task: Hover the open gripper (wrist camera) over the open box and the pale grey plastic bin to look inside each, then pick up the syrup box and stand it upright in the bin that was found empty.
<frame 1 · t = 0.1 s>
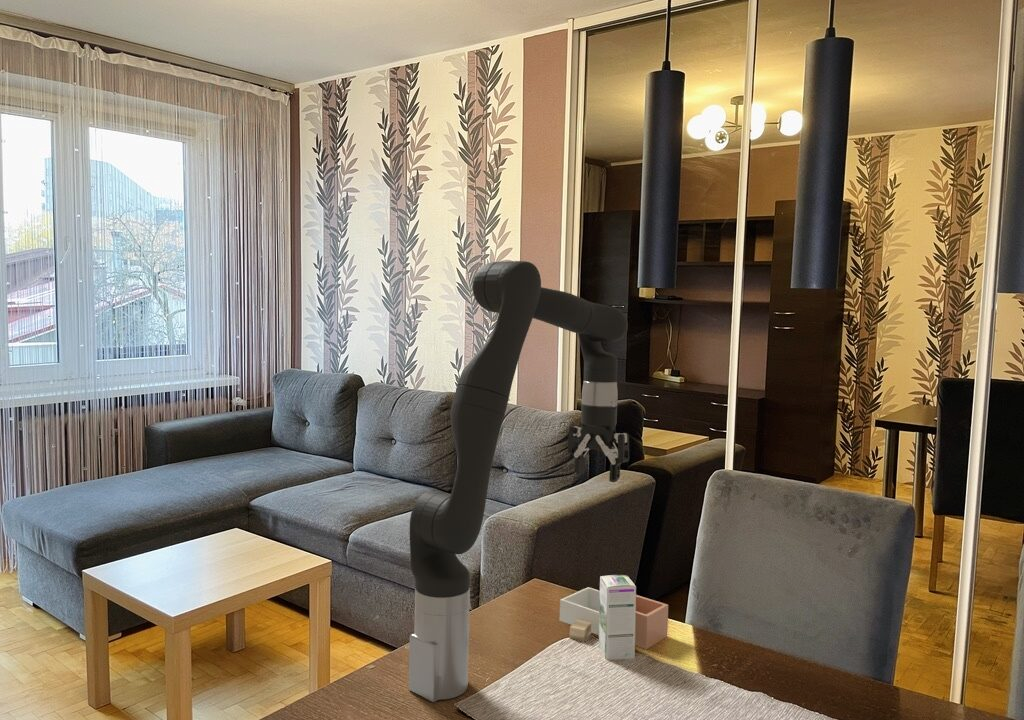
hand: (596, 478, 158), 29 cm above the table, fingers open, 8 cm apart
syrup box: (615, 656, 140), on the table
bin: (593, 623, 154), on the table
beech block: (580, 639, 146), on the table
open box: (638, 639, 147), on the table
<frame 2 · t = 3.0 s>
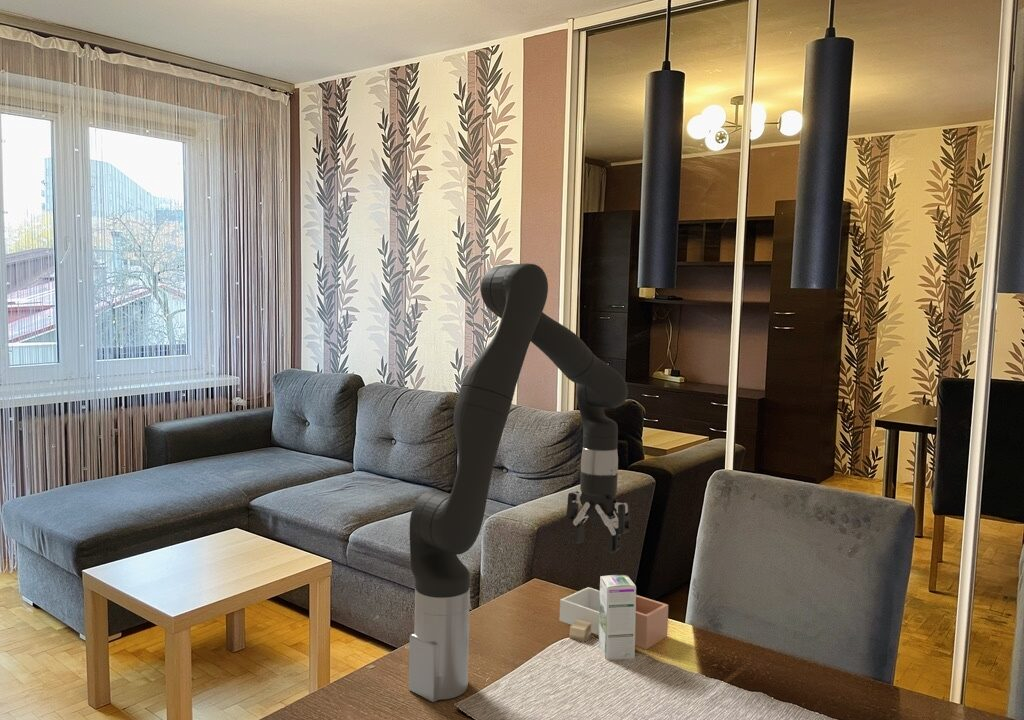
hand: (596, 547, 153), 16 cm above the table, fingers open, 8 cm apart
nothing on the table moved.
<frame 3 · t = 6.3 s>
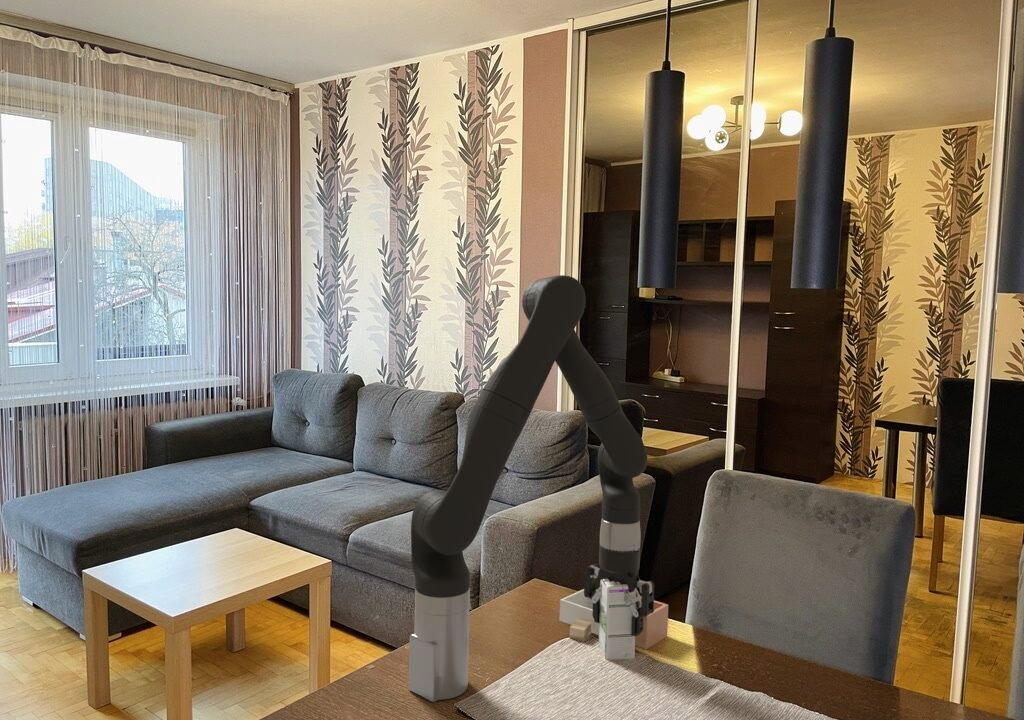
hand: (617, 628, 139), 5 cm above the table, fingers closed on syrup box, 8 cm apart
syrup box: (615, 656, 140), on the table, touching gripper
everything else where it was.
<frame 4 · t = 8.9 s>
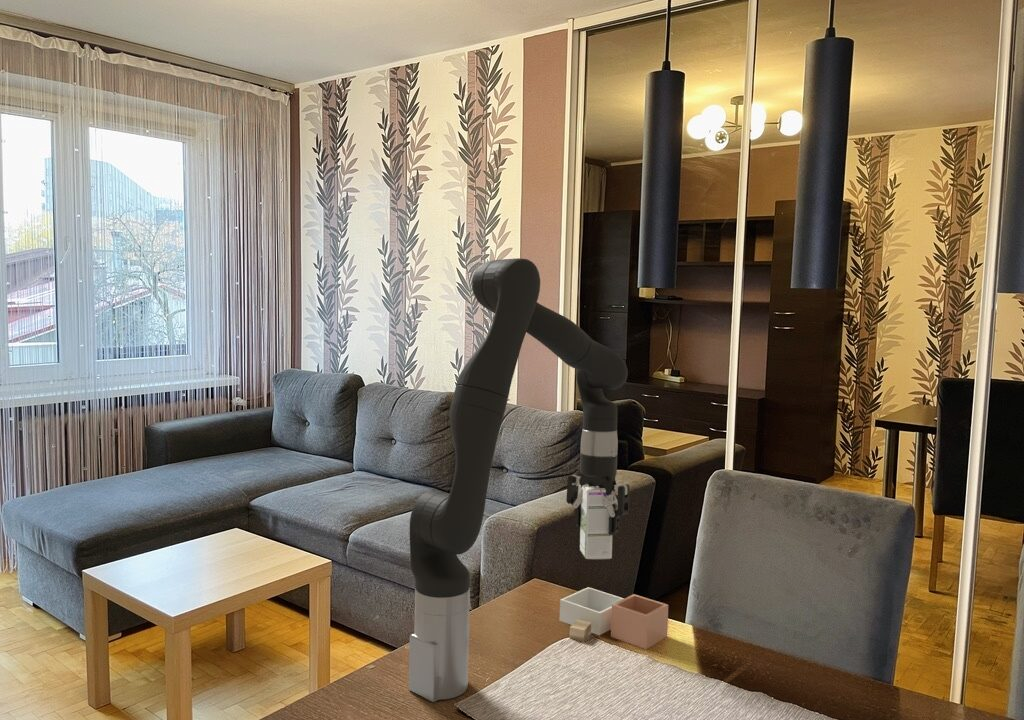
hand: (596, 529, 153), 20 cm above the table, fingers closed on syrup box, 8 cm apart
syrup box: (595, 555, 153), point 14 cm above the table, touching gripper
everything else where it was.
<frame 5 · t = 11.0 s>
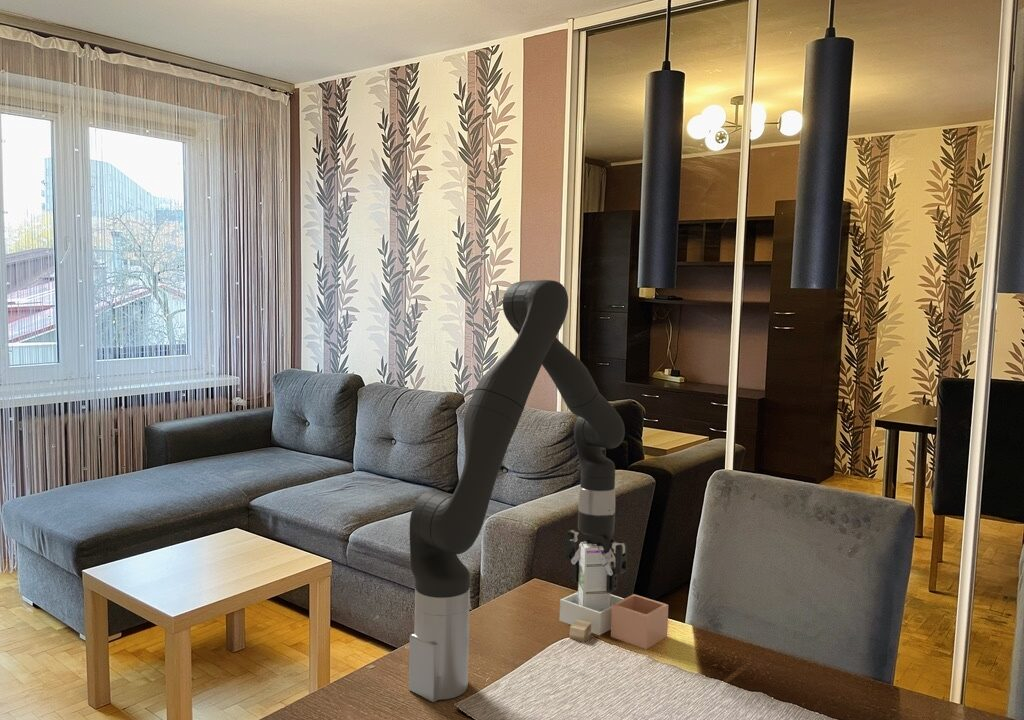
hand: (594, 586, 153), 8 cm above the table, fingers closed on syrup box, 8 cm apart
syrup box: (593, 612, 154), point 2 cm above the table, touching gripper
everything else where it was.
when the fingers open (7 cm above the table, at t = 11.8 s): syrup box drops 2 cm, resting on bin.
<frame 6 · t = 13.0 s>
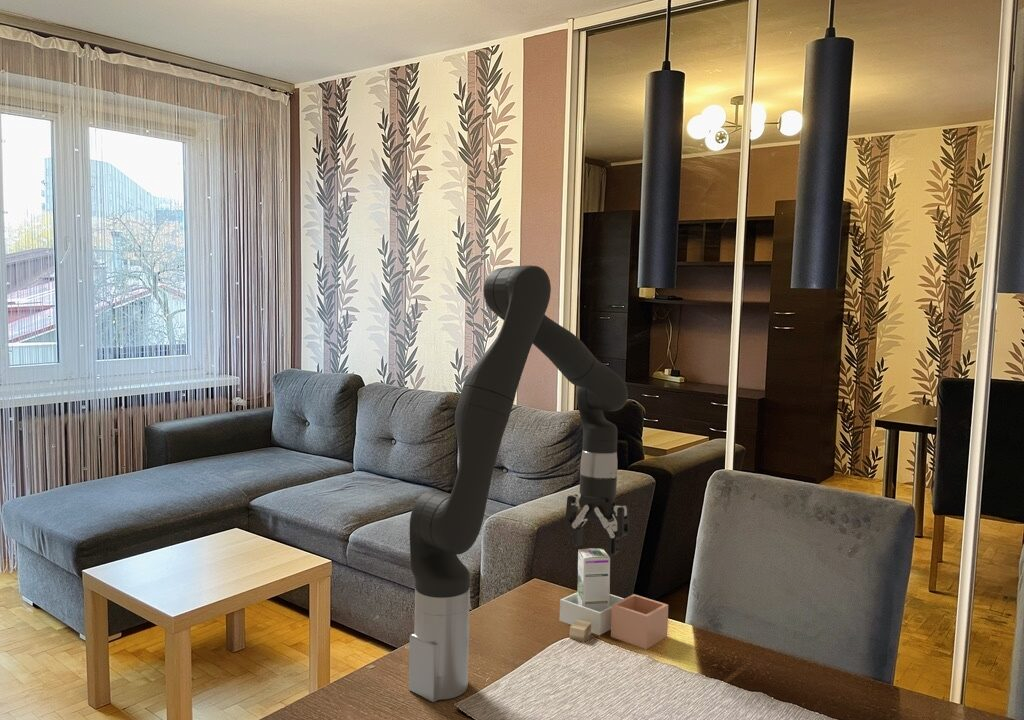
hand: (595, 550, 153), 15 cm above the table, fingers open, 8 cm apart
syrup box: (592, 621, 154), resting on bin
everything else where it was.
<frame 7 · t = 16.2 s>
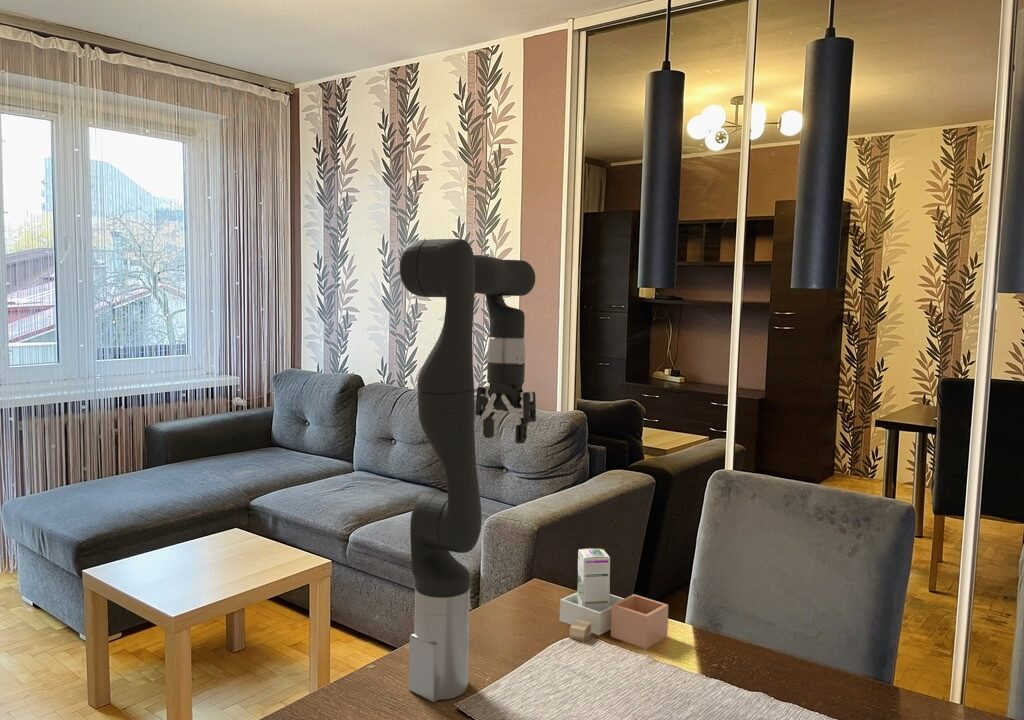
hand: (504, 440, 150), 38 cm above the table, fingers open, 8 cm apart
nothing on the table moved.
at the end: syrup box inside the target area on the bin (0.2 cm from its centre), point 0.3 cm above the bin's base; syrup box tilted 0°; the gripper is holding nothing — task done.
